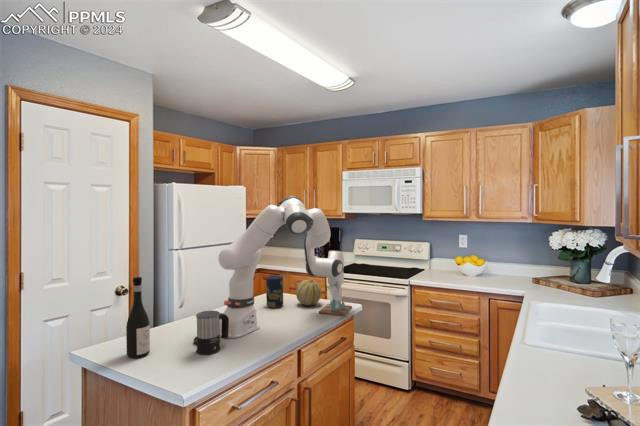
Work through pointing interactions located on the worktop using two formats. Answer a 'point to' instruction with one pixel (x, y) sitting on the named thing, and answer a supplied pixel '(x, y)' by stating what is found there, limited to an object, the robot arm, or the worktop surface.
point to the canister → (274, 291)
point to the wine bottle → (138, 326)
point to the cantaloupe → (308, 292)
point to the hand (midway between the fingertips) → (335, 305)
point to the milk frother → (210, 331)
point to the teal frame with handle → (332, 306)
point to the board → (341, 312)
